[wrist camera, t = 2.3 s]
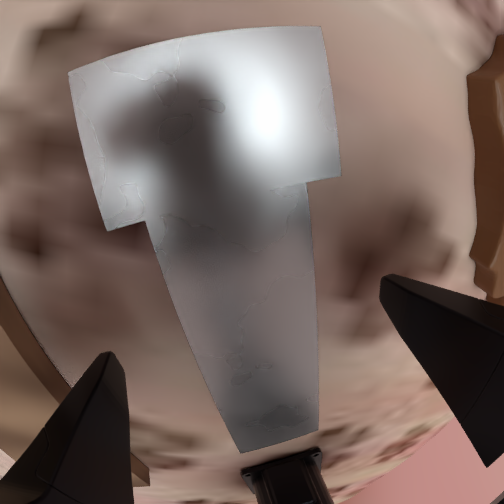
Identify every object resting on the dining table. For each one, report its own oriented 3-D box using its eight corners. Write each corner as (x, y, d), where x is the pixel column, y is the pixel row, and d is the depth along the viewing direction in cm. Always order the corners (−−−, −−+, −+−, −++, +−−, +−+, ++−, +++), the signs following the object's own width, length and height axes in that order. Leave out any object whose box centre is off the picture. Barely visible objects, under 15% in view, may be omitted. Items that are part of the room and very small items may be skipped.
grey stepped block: (315, 382, 15) (336, 423, 13) (211, 412, 15) (220, 457, 12) (281, 49, 8) (320, 26, 6) (99, 85, 7) (67, 72, 5)
